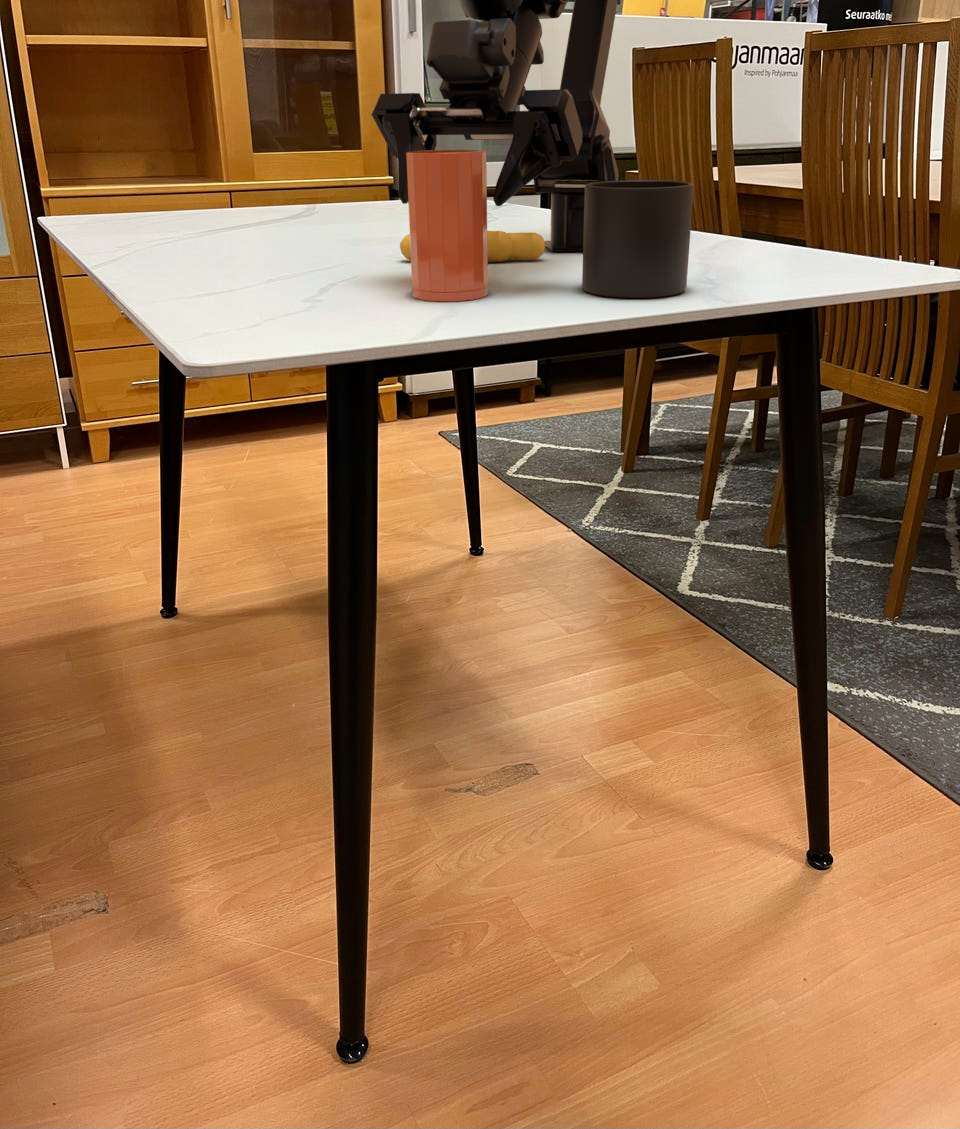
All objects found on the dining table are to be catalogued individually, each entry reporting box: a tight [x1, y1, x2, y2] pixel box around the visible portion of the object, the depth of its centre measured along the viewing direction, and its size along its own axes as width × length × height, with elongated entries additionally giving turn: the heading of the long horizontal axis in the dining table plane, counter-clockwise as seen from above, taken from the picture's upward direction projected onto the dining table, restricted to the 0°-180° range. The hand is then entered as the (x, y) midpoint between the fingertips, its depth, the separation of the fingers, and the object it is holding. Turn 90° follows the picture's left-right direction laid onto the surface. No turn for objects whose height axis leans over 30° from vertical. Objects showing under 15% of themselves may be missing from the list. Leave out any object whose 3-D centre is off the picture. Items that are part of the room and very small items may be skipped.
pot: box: [406, 148, 489, 302], centre depth 85 cm, size 7×7×12 cm
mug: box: [581, 179, 695, 299], centre depth 87 cm, size 9×12×9 cm
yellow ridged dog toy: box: [399, 230, 546, 263], centre depth 105 cm, size 16×4×3 cm, turn 86°
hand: (448, 201), depth 84 cm, fingers open, 9 cm apart
